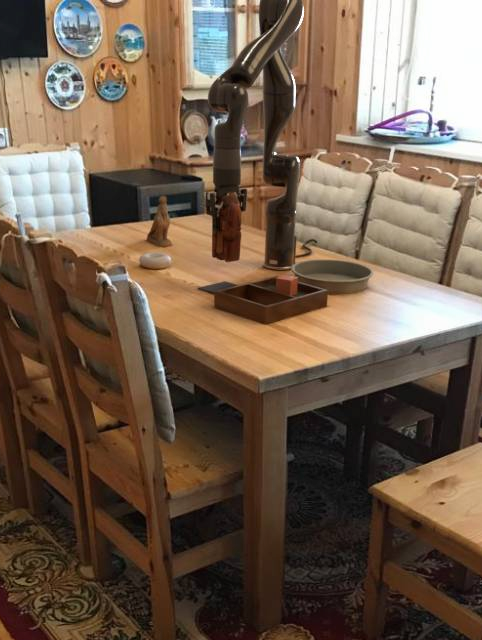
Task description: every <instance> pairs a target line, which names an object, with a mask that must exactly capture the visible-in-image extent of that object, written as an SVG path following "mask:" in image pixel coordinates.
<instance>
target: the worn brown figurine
mask: <svg viewBox="0 0 482 640" xmlns="http://www.w3.org/2000/svg"><path fill="white" fill-rule="evenodd" d="M167 201H168V199H167V196H166V195H165V194H162V195H160V196H159V197H158V202H159V204H157V207H156V213H155V215H154V218H153V222H152V224H151V227H150V230H149V231H148V233H147V236H146V241H148V242H149V243H151V244H154V246H155V245H156V246H158V247H169V246H170V247H171V246H172V241H171V239H169V238H168V233H169V228H170V225H171V216H170V214H169V213H168V212H169V211H168V209H169V206H168V204H167Z"/></svg>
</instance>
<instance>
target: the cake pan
mask: <svg viewBox="0 0 482 640" xmlns="http://www.w3.org/2000/svg"><path fill="white" fill-rule="evenodd" d="M290 270H291V272H292V273H293V274H294V277H298V282H301V283H305V284H308V285H312V286H315V287H319V288H323V289H326V290H328V295H329V294H330V295H346V294H347V295H348V294H354V293H355V294H356V293H359V292H362V291H364V290H365V289H366V288H367V287H368V284H369V281H370V279H371V278H372V277H373V276H374V270H373V269H371V268H370V267H368V266H367V265H365V264H364V265H363V264H361V263H357V262H353V261H348V260H341V259H340V260H339V259H308V260H302V261H299V262H295V264H294V265H293V266H292V267H291V269H290Z"/></svg>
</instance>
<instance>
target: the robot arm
mask: <svg viewBox="0 0 482 640" xmlns="http://www.w3.org/2000/svg"><path fill="white" fill-rule="evenodd" d="M304 10H305V9H304V2H303V0H259V4H258V24H259V26H258V27H259V34H260V35H259V36H258V37H256V38H254V39H253V40H251V41H250V42H249V43H247V44H246V45H245V46H244V47H243V48H242V50H241V51H240V52H239V54H238V55H237V57H236V58H235V60H234V61H233V62H232V64H231V66H230V67H229V68H227V69H226V70H225V71H224V72H223V73H222V74H221V75H219V76H218V77H217V78H216V79H215V80H214V81H213V83H212V84H211V86H210V87H209V89H208V93H207V102H208V105H209V107H210V108H211V110H213V111H215V112H219V113H227V114H228V115H227V117H226V121H223V122H219V123H216V124H215V126H214V130H213V131H214V133H213V136H214V137H213V154H212V183H213V185H214V190H213V191H211V192H210V191H206V192H205V213H206V215H207V216H210V217H211V229H212V228H213V230H214V231H216V232H219V231H220V219H221V218H219V217H220V215H221V213H222V210H224V209H225V206H224V203H223V201H222V198H223V196H224V195H226V197H227V196H228V195H229V193H227V192H232V193H234V194H235V195H236V196H237V198H238V205H239V207H240V209H241V213H242V212H246V210H247V198H248V189H247V188H244V187H240V185H241V184H242V151H241V149H242V146H241V144H242V141H241V140H242V130H243V125H244V122H245V117H246V114H247V110H248V106H249V94H248V89H250V88H251V87H252V86H253V85H254V84H255V83H256V81H257V79H258V77H259V76H260V74H261V73H262V108H263V109H262V110H263V151H262V152H263V153H262V180H263V183H264V185H265V186H267V187H271V188H283V189H285V191H284V193H283V194H281V195H279V196H277V197H273V198H270V199H268V200H267V202H266V208H265V209H266V211H265V233H264V234H265V236H264V237H265V238H264V258H263V259H264V260H263V261H264V262H263V267H264V268H266V269H269V270H275V271H276V270H277V271H288V270H291V267H292V266H293V265H294V264H296V258H303V257H307V256H309V255H311V254H312V252H313V249H311V248H309V247H308V246H307V245H308V244H309V243H311V242H314V244H318V241H317V240H316V239H315V238H311V239H308V240H306V241H305V242H304V243H303V244H302V248H304V249H305V250H306V251H308V252H305V253H301V254H297V255H296V253H297V238H298V237H297V235H296V218H297V205H298V191H299V181H300V174H301V173H300V172H301V166H300V165H301V163H300V159H299V157H298V156H296V155H290V154H278V153H277V152H276V151H277V143H278V141H279V138H280V136H281V134H282V132H283V130H284V129H285V127H286V126H287V124H288V122H289V121H290V120H291V117H292V116H293V114H294V111H295V108H296V82H295V79H294V76H293V74H292V71H291V69H290V68H289V65H288V64H287V62H286V60H285V59H286V58H285V57H284V55H283V53H282V49H281V48H282V46H283V45H284V44H285V43H286V42H287V41H288V40H289V39H290V38H292V36H293V35H294V34H295V32H297V30H298V28H299V27H300V26H301V24H302V21H303V18H304V12H305V11H304ZM221 201H222V204H221V205H217V204H216V203H217V202H218V203H220V202H221ZM217 209H218V211H217Z"/></svg>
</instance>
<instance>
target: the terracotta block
mask: <svg viewBox="0 0 482 640" xmlns="http://www.w3.org/2000/svg"><path fill="white" fill-rule="evenodd" d="M297 285H298V277H295V275H294V276H293V275H287V274H282V275H279V277H277V278H276V291H277V292H281V293H284V294H288V295H291V296H293V295H295V294H297Z"/></svg>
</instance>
